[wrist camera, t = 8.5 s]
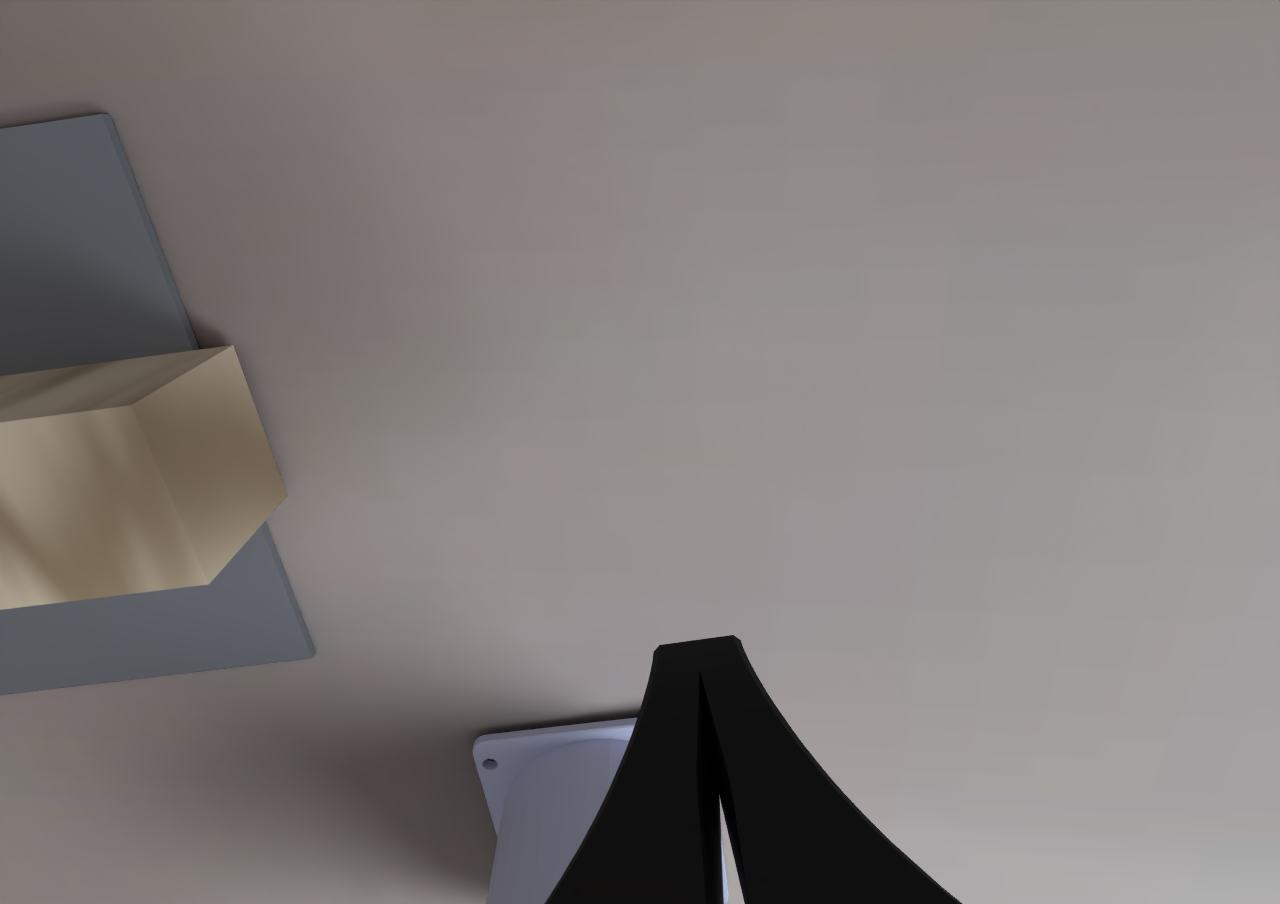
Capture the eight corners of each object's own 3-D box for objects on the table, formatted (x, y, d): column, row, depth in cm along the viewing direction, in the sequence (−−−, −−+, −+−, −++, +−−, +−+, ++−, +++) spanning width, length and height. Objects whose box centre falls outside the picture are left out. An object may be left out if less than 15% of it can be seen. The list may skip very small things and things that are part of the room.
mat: (315, 652, 24) (312, 658, 24) (-69, 697, 25) (-77, 703, 25) (109, 114, 18) (101, 113, 18) (-407, 190, 18) (-422, 191, 18)
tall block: (208, 584, 18) (-159, 628, 18) (287, 495, 22) (-13, 533, 22) (130, 405, 16) (-276, 459, 16) (233, 345, 20) (-93, 388, 20)
